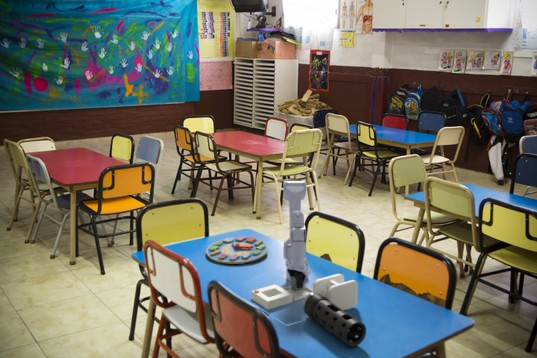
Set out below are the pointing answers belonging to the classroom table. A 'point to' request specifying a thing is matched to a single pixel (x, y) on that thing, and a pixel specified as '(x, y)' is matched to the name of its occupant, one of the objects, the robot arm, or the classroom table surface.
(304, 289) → the tray
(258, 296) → the socket block
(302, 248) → the robot arm
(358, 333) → the muzzle brake
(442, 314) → the classroom table surface
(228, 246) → the shape sorting clock
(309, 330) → the classroom table surface
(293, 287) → the plug
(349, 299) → the cable organizer
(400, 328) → the classroom table surface
